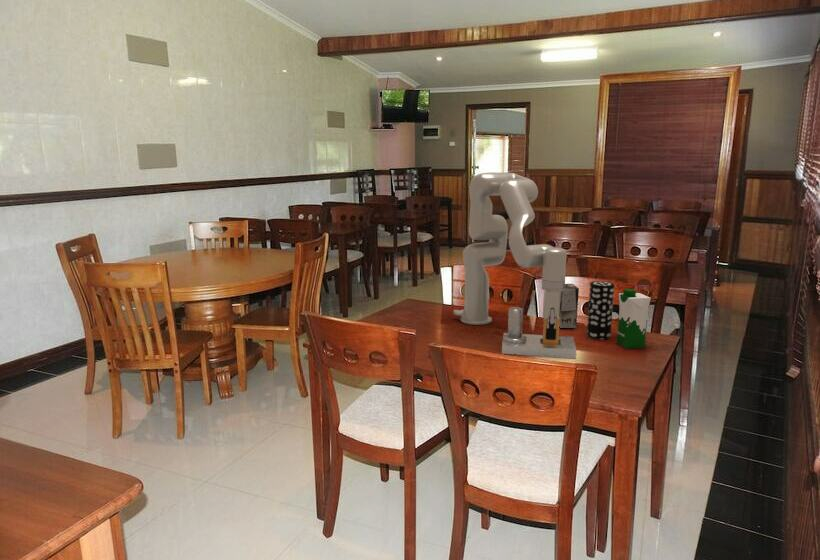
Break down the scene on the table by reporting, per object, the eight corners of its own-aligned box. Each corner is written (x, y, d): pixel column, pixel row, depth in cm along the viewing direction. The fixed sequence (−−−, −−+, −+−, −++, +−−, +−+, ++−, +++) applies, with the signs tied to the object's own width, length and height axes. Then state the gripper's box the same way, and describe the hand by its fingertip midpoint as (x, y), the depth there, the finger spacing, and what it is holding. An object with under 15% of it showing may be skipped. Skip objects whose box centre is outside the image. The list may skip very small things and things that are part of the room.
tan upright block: (542, 346, 194) (544, 317, 191) (542, 342, 197) (544, 314, 195) (558, 347, 193) (559, 318, 190) (557, 343, 196) (559, 315, 194)
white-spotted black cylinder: (584, 333, 214) (587, 281, 210) (606, 333, 214) (610, 281, 210) (590, 340, 206) (593, 286, 202) (613, 340, 206) (617, 286, 202)
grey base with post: (501, 353, 192) (503, 313, 189) (503, 340, 205) (504, 303, 202) (575, 358, 187) (578, 317, 184) (572, 345, 200) (575, 306, 198)
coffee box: (576, 329, 219) (579, 288, 216) (560, 329, 219) (562, 288, 216) (570, 322, 228) (573, 283, 225) (554, 322, 228) (556, 283, 225)
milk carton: (612, 342, 204) (616, 287, 200) (636, 340, 205) (640, 286, 201) (625, 349, 195) (629, 293, 191) (649, 348, 197) (654, 292, 193)
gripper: (541, 279, 199) (538, 329, 203) (542, 289, 183) (539, 344, 187) (563, 280, 198) (560, 330, 202) (566, 290, 182) (563, 345, 186)
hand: (550, 336), depth 194 cm, fingers closed on tan upright block, 3 cm apart
